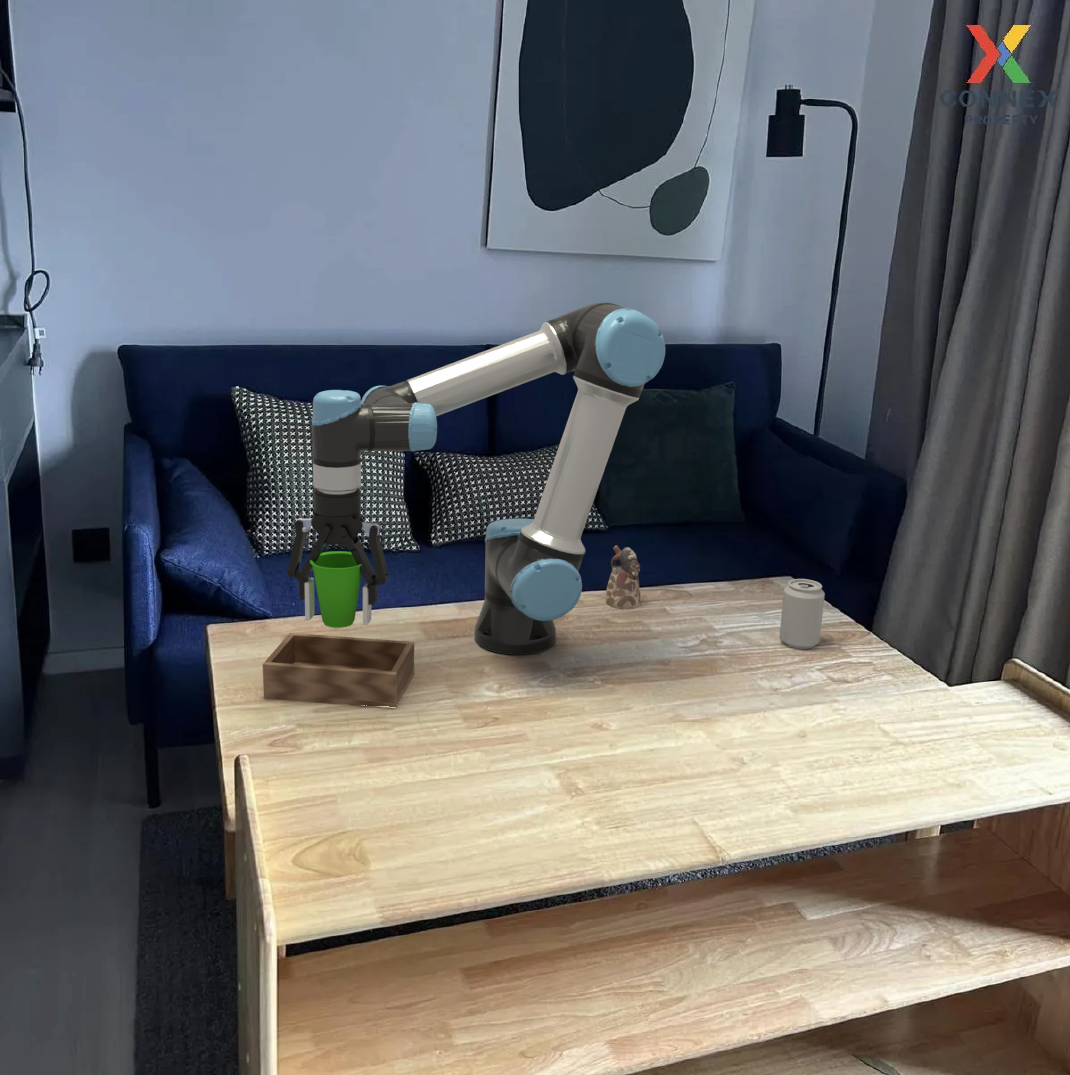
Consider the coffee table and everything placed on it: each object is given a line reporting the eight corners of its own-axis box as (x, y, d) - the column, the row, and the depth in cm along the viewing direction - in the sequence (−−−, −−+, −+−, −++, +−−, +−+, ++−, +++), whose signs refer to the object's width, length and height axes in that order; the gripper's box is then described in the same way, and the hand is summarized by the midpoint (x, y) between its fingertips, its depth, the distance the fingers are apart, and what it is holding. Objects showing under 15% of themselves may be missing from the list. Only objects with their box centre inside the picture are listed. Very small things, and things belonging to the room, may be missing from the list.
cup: (355, 635, 190) (354, 570, 187) (302, 629, 192) (300, 564, 189) (373, 616, 199) (373, 554, 196) (322, 610, 200) (321, 548, 197)
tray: (414, 674, 204) (414, 641, 203) (395, 708, 191) (395, 674, 189) (291, 664, 207) (289, 632, 205) (263, 697, 193) (262, 664, 192)
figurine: (629, 611, 237) (633, 554, 233) (599, 604, 241) (601, 548, 237) (646, 601, 243) (649, 546, 239) (616, 594, 246) (619, 539, 243)
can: (822, 640, 225) (829, 580, 222) (814, 653, 219) (821, 592, 215) (784, 632, 228) (790, 574, 225) (774, 645, 222) (780, 585, 218)
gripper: (409, 487, 191) (407, 617, 198) (279, 478, 193) (282, 606, 200) (398, 498, 184) (397, 633, 191) (263, 489, 186) (267, 622, 193)
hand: (338, 619), depth 195 cm, fingers closed on cup, 9 cm apart
